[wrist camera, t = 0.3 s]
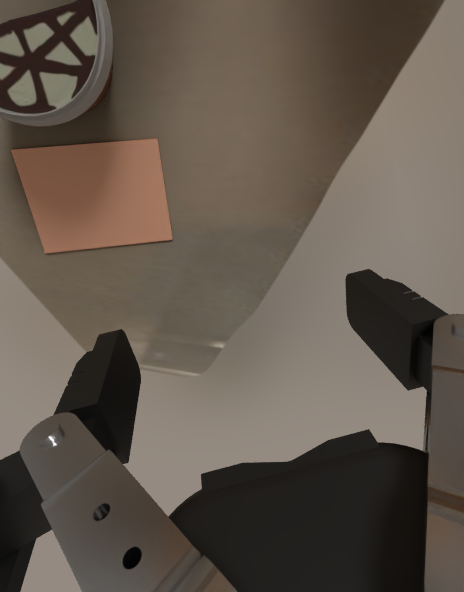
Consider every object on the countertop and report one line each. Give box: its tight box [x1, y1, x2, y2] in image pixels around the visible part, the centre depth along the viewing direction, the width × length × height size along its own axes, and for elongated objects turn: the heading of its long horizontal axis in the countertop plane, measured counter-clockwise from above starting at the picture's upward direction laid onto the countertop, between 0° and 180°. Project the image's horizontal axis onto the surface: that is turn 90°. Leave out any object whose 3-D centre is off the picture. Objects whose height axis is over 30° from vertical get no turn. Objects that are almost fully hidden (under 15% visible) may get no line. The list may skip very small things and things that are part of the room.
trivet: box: [11, 139, 173, 253], centre depth 35 cm, size 10×14×1 cm
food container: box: [0, 0, 113, 126], centre depth 26 cm, size 12×6×10 cm, turn 106°
